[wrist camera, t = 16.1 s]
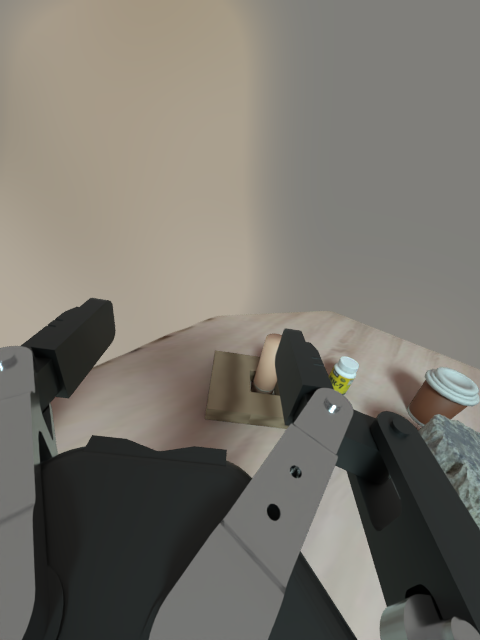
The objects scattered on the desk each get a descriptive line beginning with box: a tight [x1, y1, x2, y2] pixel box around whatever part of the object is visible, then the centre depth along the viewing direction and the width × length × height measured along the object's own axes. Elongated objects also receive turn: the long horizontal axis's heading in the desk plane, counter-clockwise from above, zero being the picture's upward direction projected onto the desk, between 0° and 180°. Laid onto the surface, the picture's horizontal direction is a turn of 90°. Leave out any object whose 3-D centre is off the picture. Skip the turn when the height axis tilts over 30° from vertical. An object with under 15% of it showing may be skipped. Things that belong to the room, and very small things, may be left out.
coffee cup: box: [407, 367, 479, 427], centre depth 50 cm, size 9×9×12 cm
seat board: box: [205, 351, 289, 429], centre depth 50 cm, size 22×16×3 cm
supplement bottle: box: [329, 357, 359, 395], centre depth 54 cm, size 5×5×8 cm
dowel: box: [251, 334, 282, 395], centre depth 47 cm, size 5×5×14 cm
